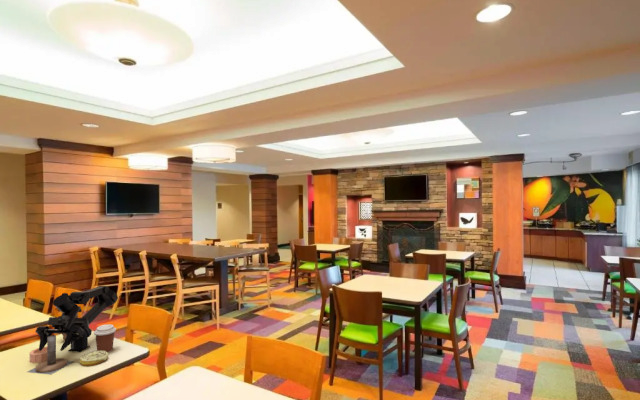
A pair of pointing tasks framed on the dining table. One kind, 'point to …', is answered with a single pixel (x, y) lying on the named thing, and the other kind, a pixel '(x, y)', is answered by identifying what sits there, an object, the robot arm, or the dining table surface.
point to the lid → (51, 358)
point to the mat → (52, 371)
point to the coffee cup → (105, 337)
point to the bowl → (38, 355)
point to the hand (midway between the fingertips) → (50, 350)
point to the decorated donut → (93, 358)
